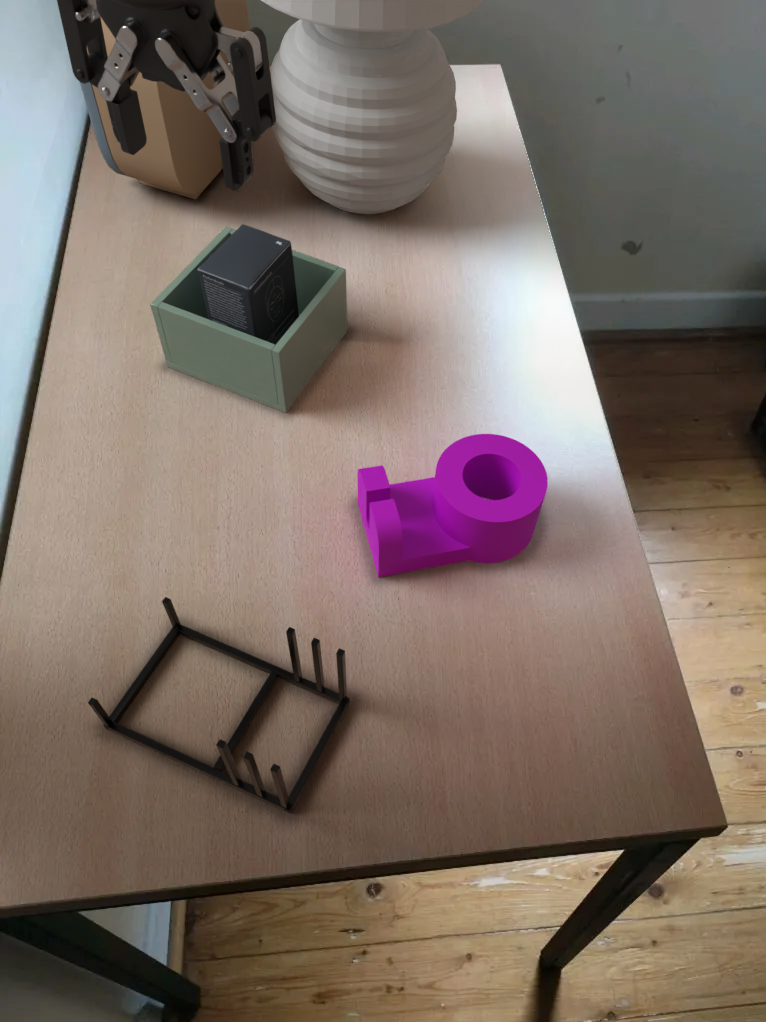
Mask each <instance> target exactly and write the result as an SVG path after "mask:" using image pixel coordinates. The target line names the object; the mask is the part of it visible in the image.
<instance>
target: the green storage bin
mask: <svg viewBox="0 0 766 1022" xmlns="http://www.w3.org/2000/svg"><path fill="white" fill-rule="evenodd" d="M236 230H237V229H236V228H233V227H230V226H225V227H223V229H221V231H220V232H219V233H218V234H217V235H216V236H215V237H214V238H213V239H212V240H211V241H210V242H209V243H208V244H207V245H206V246H205V247H204V248H203V249H202V250H201V251H200V252H199V253H198V254H197V255H196V257H194V258H193V260H192V261H190V263H189V264H187V265H186V267H184V269H182V271H181V272H180V273H179V274H177V276H176V277H175V278H173V280H172V281H171V282H170V283H169V284H168V285H167V286H166V287H165V288H164V289H163V290H162V291H161V292H160V293H159V294H158V295H157V296H156V297H155V298H154V299H153V300H152V301H151V303H150V304H149V305H150V308H151V311H152V315H153V319H154V323H155V327H156V331H157V334H158V337H159V341H160V345H161V348H162V352H163V355H164V359H165V363H166V366H167V368H170V369H171V370H175V371H177V372H180V373H182V374H185V375H187V376H189V377H192V378H195V379H197V380H200V381H203V382H205V383H208V384H211V385H213V386H215V387H218V388H220V389H223V390H226V391H228V392H231V393H234V394H237V395H238V396H241V397H244V398H247V399H249V400H252V401H254V402H257V403H259V404H262V405H264V406H268V407H269V408H272V409H275V410H278V411H279V412H283V413H285V414H286V413H288V412H289V410H290V408H291V407H292V406H293V404H294V403H295V402H296V401H297V399H299V396H300V395H301V393H302V392H303V391H304V390H305V388H307V386H308V384H309V383H310V382H311V380H312V379H313V378H314V377H315V375H316V374H317V373H318V371H319V370H320V368H321V367H322V365H324V363H325V362H326V360H327V359H328V358H329V356H330V355H331V354H332V353H333V351H334V350H335V348H337V347H336V346H338V345H339V343H340V341H341V340H342V339H343V338H344V336H345V335H346V334H347V332H348V310H347V309H348V303H347V302H348V301H347V300H348V298H347V297H348V296H347V269H346V268H345V267H342V266H339V265H336V264H333V263H331V262H328V261H325V260H322V259H319V258H317V257H314V256H311V255H309V254H307V253H306V254H305V253H303V252H300V251H297V250H295V249H292V255H293V265H294V274H295V284H296V293H297V303H298V312H299V317H298V318H297V319H296V320H295V322H294V323H293V324H292V325H291V327H290V328H289V329H288V330H287V332H286V333H285V334H284V335H283V337H282V338H281V339H280V340H279V341H278V343H277V344H276V345H275V344H272V343H270V342H267V341H264V340H262V339H259V338H257V337H254V336H251V335H249V334H246V333H243V332H241V331H238V330H235V329H233V328H230V327H227V326H225V325H222V324H219V323H217V322H214V321H211V320H209V318H208V313H207V308H206V304H205V299H204V294H203V290H202V285H201V281H200V276H199V272H198V268H199V267H200V266H201V265H203V264H204V263H205V261H206V260H207V259H209V257H210V256H211V255H212V254H213V253H214V252H215V251H216V250H217V249H218V248H219V247H220V246H221V245H222V244H223V243H224V242H225V241H226V240H227V239H228V238H229V237H230V236H231V235H232V234H233V233H234V232H235V231H236Z"/></svg>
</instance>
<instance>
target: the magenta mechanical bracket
mask: <svg viewBox="0 0 766 1022" xmlns="http://www.w3.org/2000/svg"><path fill="white" fill-rule="evenodd" d="M434 472H435V473H434V476H433V477H427V478H426V477H425V478H422V479H415V480H408V481H403V482H396V483H390V482H389V479H388V475H387V472H386V469H385V467H384V466H383V465H375V466H369V467H363V468H358V469H357V506H358V509H359V510H358V511H359V513H360V517H361V520H362V524H363V527H364V530H365V535H366V538H367V541H368V546H369V548H370V554H371V556H372V560H373V563H374V567H375V572H376V574H377V577H378V578H382V577H383V578H384V577H388V576H393V575H399V574H404V573H408V572H409V573H410V572H414V571H421V570H424V569H430V568H435V567H442V566H447V565H451V564H457V563H463V562H474V563H479V564H496V563H501V562H504V561H508V560H511V559H512V558H514V557H517V556H518V555H519V554H520V553H522V552H523V551H524V550H525V549H526V548H527V547H528V545H529V544H530V543H531V541H532V539H533V536H534V533H535V531H536V527H537V524H538V521H539V517H540V514H541V511H542V507H543V504H544V501H545V499H546V494H547V492H548V486H549V482H548V474H547V470H546V467H545V465H544V464H543V462H542V460H541V458H540V457H539V456H538V454H536V453H535V452H534V451H533V449H531V448H530V447H528V445H526V444H524V443H522V442H520V441H519V440H516V439H515V438H511V437H508V436H505V435H502V434H497V433H496V434H495V433H477V434H472V435H466V436H464V437H462V438H459V439H458V440H455V441H454V442H452V443H450V445H448V446H447V447H446V448H445V449H444V450H443V452H442V453H441V454H440V456H439V457H438V460H437V461H436V466H435V471H434Z"/></svg>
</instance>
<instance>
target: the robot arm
mask: <svg viewBox="0 0 766 1022" xmlns="http://www.w3.org/2000/svg"><path fill="white" fill-rule="evenodd" d="M56 2H57V7H58V12H59V17H60V20H61V25H62V30H63V34H64V38H65V43H66V48H67V52H68V57H69V61H70V64H71V71H72V73H73V75H74V77H75V79H76V80H77V81H78V82H79V83H80V82H81V83H84V84H86V83H88V82H90V83H91V84H93V85H94V86H95V87H97V88H98V91H99V93H100V95H101V96H102V97H103V98H104V99H105V100H106V103H107V107H108V111H109V116H110V120H111V124H112V128H113V132H114V135H115V137H116V139H117V141H118V142H120V145H121V149H122V151H123V152H125V153H128V154H131V155H134V154H136V153H137V152H138V151H139V150H141V149H142V148H143V147H144V146H145V145H146V141H147V137H146V132H145V128H144V123H143V118H142V113H141V109H140V104H139V99H138V94H137V91H135V90H132V89H130V87H131V86H132V85H133V83H134V81H135V79H136V78H137V76H138V74H139V72H141V73H142V78H144V79H147V80H150V81H159V82H164V83H165V84H167V85H169V86H170V87H172V88H174V89H177V90H179V91H182V92H184V91H185V90H186V92H187V93H188V95H189V96H190V98H191V99H192V101H193V102H194V104H195V105H196V107H197V108H198V109H199V110H200V111H202V112H206V113H207V114H208V116H209V117H210V119H211V120H212V122H213V123H214V125H215V126H216V128H217V129H218V131H219V133H220V134H221V136H222V138H221V139H220V140H219V142H220V150H221V157H222V165H223V168H222V171H223V179H224V186H225V188H226V189H227V190H230V191H233V192H238V191H239V190H240V189H241V188H242V187H244V185H245V184H246V183H248V181H249V180H250V179H251V178H252V177H253V174H254V171H255V167H254V158H253V147H252V143H256V142H257V141H258V140H259V139H260V138H262V136H263V135H264V134H265V133H266V132H267V131H268V130H269V129H271V128H272V126H273V125H274V124H275V122H276V115H275V107H274V99H273V91H272V83H271V66H270V59H269V52H268V51H269V50H268V44H267V37H266V34H265V33H264V31H263V30H262V29H261V28H260V27H258V26H252V27H250V28H249V30H248V31H246V32H242V31H238V30H234V29H230V28H226V27H224V26H223V24H222V22H221V20H220V17H219V15H218V12H217V9H216V6H215V0H56ZM100 17H101V18H102V19H103V21H104V22H105V24H106V25H107V27H108V28H109V30H110V32H111V33H112V35H113V36H114V38H115V39H116V42H115V44H114V46H113V48H112V50H111V52H110V54H109V57H108V55H107V50H106V45H105V39H104V34H103V28H102V23H101V18H100ZM87 48H88V52H87ZM220 51H222V52H223V53H224V54H225V55H226V57H227V60H228V63H227V65H226V63H225V62H224V60H223V58H222V57H221V55H220ZM88 53H89V55H88ZM232 71H233V73H234V76H233V75H232V73H231V72H232ZM208 72H210V74H211V75H212V77H213V80H214V86H213V87H212V88H211V89H208V88H207V87H206V86H205V85H204V83H203V82H202V80H203V79H204V78H205V77H206V76H207V74H208ZM221 100H222V101H223V103H224V104H225V106H226V108H227V109H228V111H229V112H230V114H231V115H232V116H231V117H230V116H229V114H228V112H227V111H226V109H225V108H224V106H223V105H222V102H221Z"/></svg>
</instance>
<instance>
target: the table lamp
mask: <svg viewBox="0 0 766 1022" xmlns="http://www.w3.org/2000/svg"><path fill="white" fill-rule="evenodd" d="M260 1H261V2H263V3H264V4H265V5H268V6H269V7H270V8H273V9H274V10H275V11H279V12H281V13H283V14H286V15H288V16H290V17H293V18H296V19H298V20H297V21H295V22H294V23H293V24H291V26H289V28H288V29H287V30H286V32H285V33H284V36H283V38H282V40H281V43H280V46H279V49H278V50H277V52H276V53H275V55H274V57H273V60H272V63H271V66H270V75H271V83H272V91H273V99H274V107H275V115H276V122H275V124H274V125H273V126H272V127H271V128H272V131H273V133H274V134H273V135H274V137H275V140H276V142H277V144H278V145H279V147H280V149H281V151H282V153H283V157H284V160H285V163H286V164H287V167H289V169H290V171H291V172H292V173H293V174H294V175H295V176H296V177H297V178H298V179H299V180H300V182H301V183H302V184H303V186H304V187H305V188H306V189H307V190H308V191H309V192H310V193H311V194H313V195H314V196H315V197H317V198H319V199H320V200H322V201H324V202H325V203H328V204H330V205H331V206H333V207H334V208H337V209H340V210H342V211H344V212H349V213H353V214H360V215H376V214H383V213H386V212H390V211H393V210H395V209H397V208H401V207H402V206H405V205H406V204H409V203H411V202H413V201H414V200H416V199H418V198H419V197H420V196H421V195H422V194H423V193H425V191H426V189H427V188H428V187H429V185H430V184H432V183H433V182H434V181H435V180H436V179H437V177H438V176H439V175H440V174H441V171H442V168H443V166H444V163H445V160H446V157H447V156H448V155H449V154H450V151H451V149H452V146H453V143H454V137H455V124H456V122H457V116H458V108H457V107H458V106H457V99H456V91H457V85H456V82H457V81H456V77H455V74H454V70H453V69H452V67H451V65H450V63H449V61H448V59H447V56H446V52H445V50H444V48H443V46H442V43H441V42H440V40H439V39H438V37H437V36H436V35H435V34H434V33H433V31H431V30H429V29H432V28H435V27H438V26H443V25H446V24H449V23H452V22H454V21H456V20H458V19H461V18H464V17H465V16H466V15H468V14H469V13H471V12H473V11H475V9H476V8H478V7H479V6H480V4H482V2H483V1H484V0H260Z"/></svg>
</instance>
